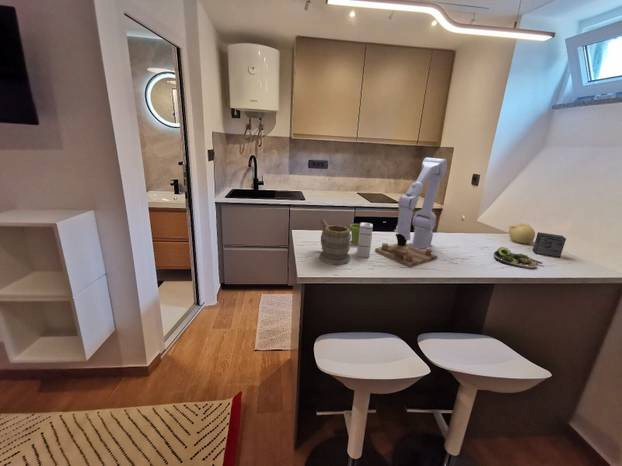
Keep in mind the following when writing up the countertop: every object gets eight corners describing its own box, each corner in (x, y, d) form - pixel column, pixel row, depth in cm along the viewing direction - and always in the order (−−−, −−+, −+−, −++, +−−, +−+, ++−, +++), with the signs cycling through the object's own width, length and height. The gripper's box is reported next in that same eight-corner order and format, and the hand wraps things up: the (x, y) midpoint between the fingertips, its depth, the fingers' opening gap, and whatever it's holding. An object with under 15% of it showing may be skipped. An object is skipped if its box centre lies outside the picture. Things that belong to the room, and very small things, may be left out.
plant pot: (353, 238, 155) (355, 222, 152) (369, 242, 150) (372, 226, 147) (345, 242, 147) (346, 226, 145) (361, 247, 142) (363, 230, 140)
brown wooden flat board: (401, 244, 149) (403, 237, 148) (436, 258, 134) (438, 250, 133) (374, 251, 138) (376, 243, 137) (409, 267, 123) (411, 258, 121)
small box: (556, 254, 150) (562, 235, 147) (560, 258, 144) (567, 238, 141) (531, 250, 154) (537, 231, 151) (534, 254, 148) (541, 234, 145)
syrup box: (369, 257, 130) (373, 226, 126) (356, 255, 131) (359, 225, 127) (369, 252, 136) (373, 223, 131) (356, 251, 137) (360, 221, 132)
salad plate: (538, 260, 140) (541, 252, 139) (545, 274, 125) (548, 264, 124) (493, 251, 149) (495, 243, 148) (494, 262, 134) (496, 253, 133)
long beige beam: (381, 249, 136) (381, 244, 135) (381, 247, 138) (382, 242, 138) (407, 253, 132) (408, 248, 132) (407, 251, 135) (408, 247, 134)
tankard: (354, 262, 124) (358, 229, 119) (329, 266, 118) (332, 232, 114) (331, 246, 141) (333, 216, 136) (308, 249, 135) (309, 218, 130)
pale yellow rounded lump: (519, 238, 173) (524, 221, 170) (537, 245, 162) (543, 227, 158) (502, 238, 171) (507, 220, 168) (519, 245, 160) (524, 227, 157)
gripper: (391, 216, 139) (387, 243, 143) (400, 226, 125) (396, 254, 129) (406, 217, 139) (402, 243, 143) (416, 226, 125) (412, 255, 130)
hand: (400, 249), depth 136 cm, fingers closed, pressing on long beige beam
